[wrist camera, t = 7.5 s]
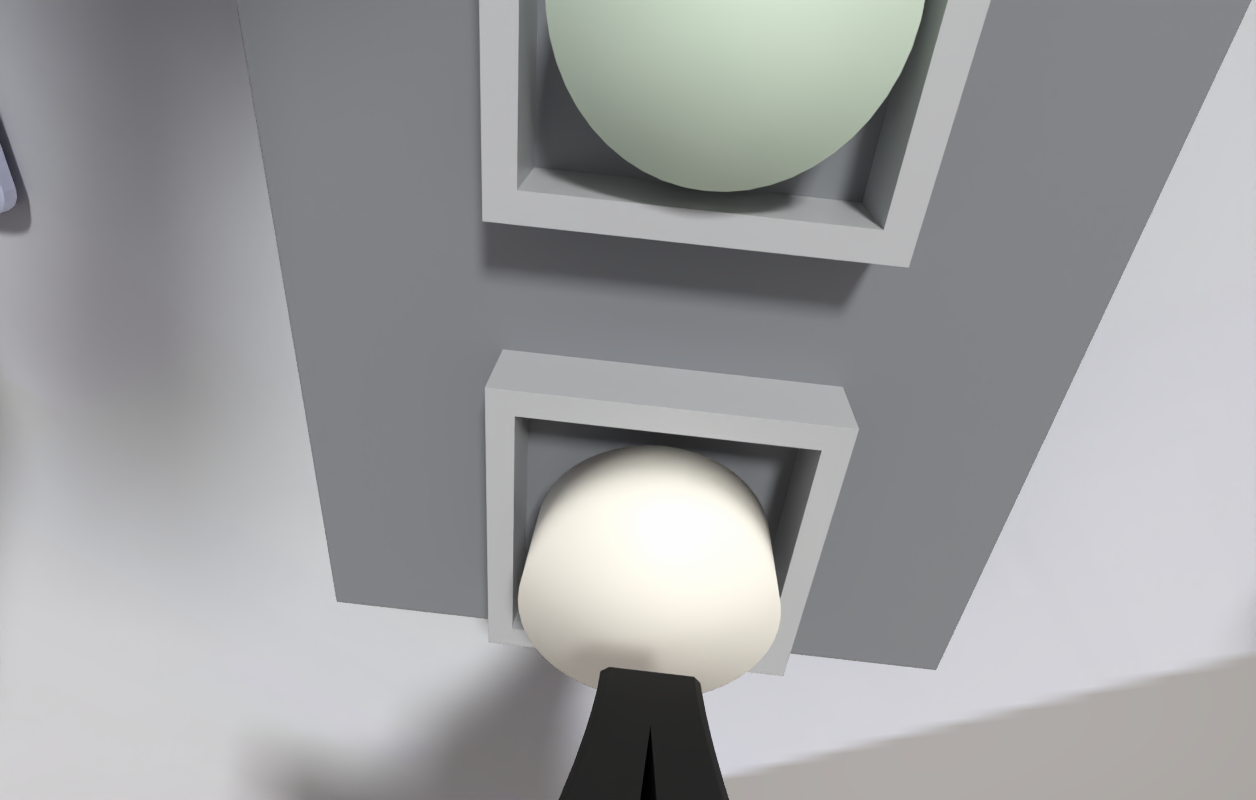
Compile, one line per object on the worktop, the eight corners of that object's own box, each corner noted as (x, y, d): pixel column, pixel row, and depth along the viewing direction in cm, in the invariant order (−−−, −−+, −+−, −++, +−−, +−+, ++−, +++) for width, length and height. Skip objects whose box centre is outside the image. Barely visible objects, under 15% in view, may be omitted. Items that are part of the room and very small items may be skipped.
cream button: (534, 609, 15) (516, 684, 13) (539, 432, 12) (519, 497, 11) (747, 634, 15) (754, 711, 13) (791, 460, 12) (806, 529, 11)
